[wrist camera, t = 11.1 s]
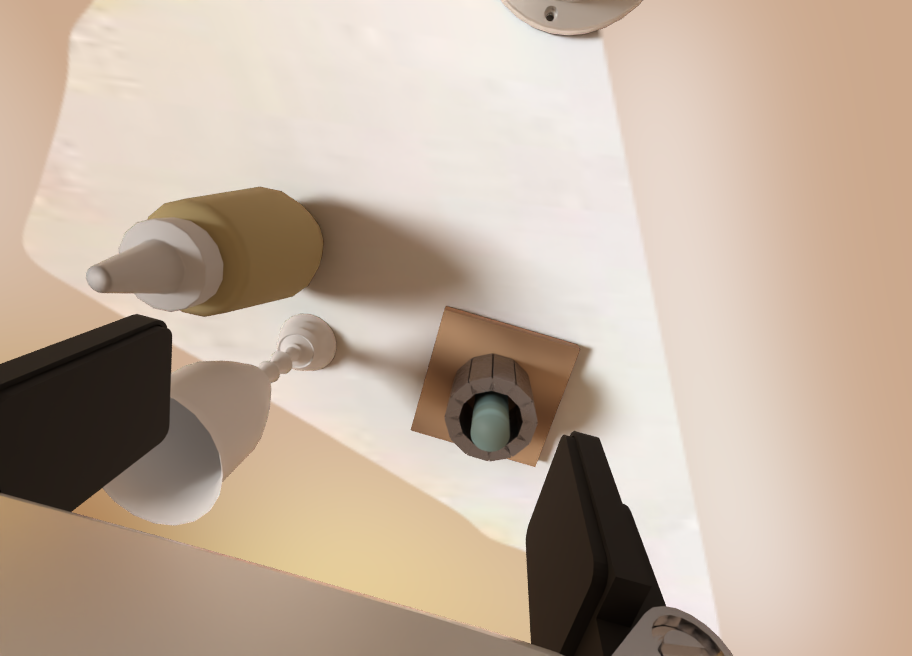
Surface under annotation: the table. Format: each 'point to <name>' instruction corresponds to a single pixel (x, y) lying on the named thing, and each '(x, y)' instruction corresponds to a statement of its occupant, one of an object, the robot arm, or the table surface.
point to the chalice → (215, 426)
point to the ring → (500, 378)
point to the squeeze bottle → (215, 253)
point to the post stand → (490, 419)
